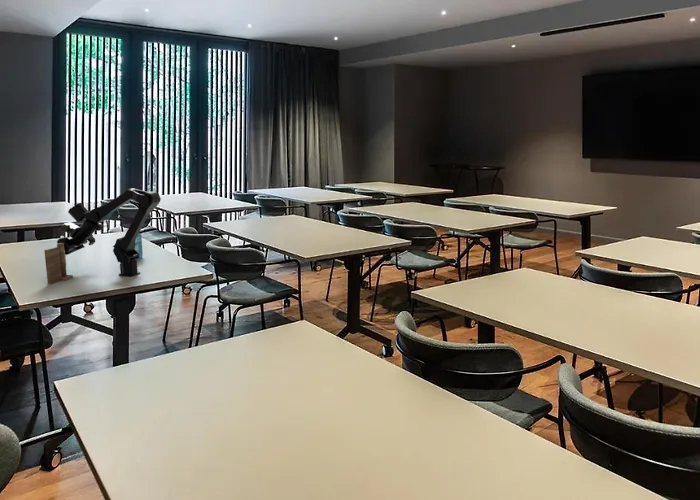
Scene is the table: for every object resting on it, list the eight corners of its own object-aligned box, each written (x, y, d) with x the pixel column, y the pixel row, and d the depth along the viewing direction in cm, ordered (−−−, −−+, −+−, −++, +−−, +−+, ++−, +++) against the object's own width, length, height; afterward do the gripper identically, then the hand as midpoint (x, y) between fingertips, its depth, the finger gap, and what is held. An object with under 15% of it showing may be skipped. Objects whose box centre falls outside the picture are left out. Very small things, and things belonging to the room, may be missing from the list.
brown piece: (73, 278, 239) (69, 242, 236) (54, 284, 228) (50, 247, 226) (62, 277, 240) (59, 242, 237) (43, 284, 229) (39, 247, 226)
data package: (132, 262, 270) (130, 237, 267) (122, 262, 270) (121, 237, 268) (143, 257, 282) (141, 233, 279) (134, 257, 282) (132, 233, 279)
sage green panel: (66, 264, 258) (63, 236, 255) (65, 274, 239) (62, 244, 236) (59, 264, 257) (56, 236, 254) (57, 275, 237) (54, 244, 235)
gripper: (87, 213, 255) (67, 237, 259) (58, 219, 237) (37, 244, 241) (104, 231, 255) (84, 255, 259) (77, 239, 237) (56, 263, 241)
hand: (65, 254), depth 250 cm, fingers closed
